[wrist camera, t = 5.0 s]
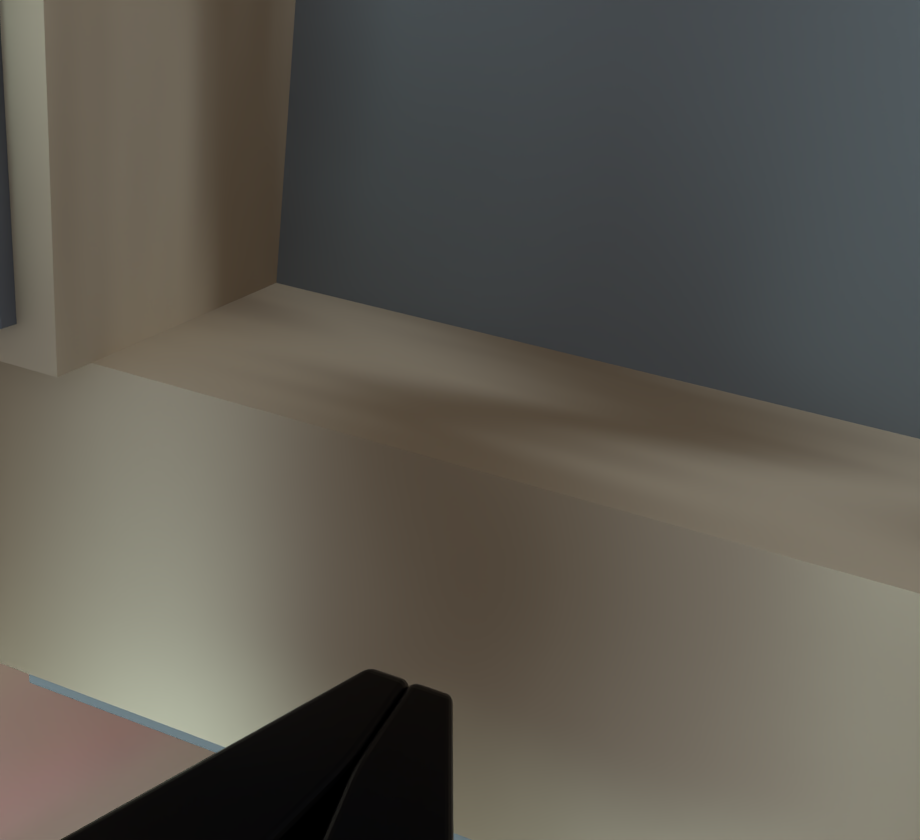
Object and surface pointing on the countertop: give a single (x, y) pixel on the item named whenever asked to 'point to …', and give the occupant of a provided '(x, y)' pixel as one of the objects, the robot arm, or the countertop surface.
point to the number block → (135, 168)
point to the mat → (621, 188)
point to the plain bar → (480, 566)
